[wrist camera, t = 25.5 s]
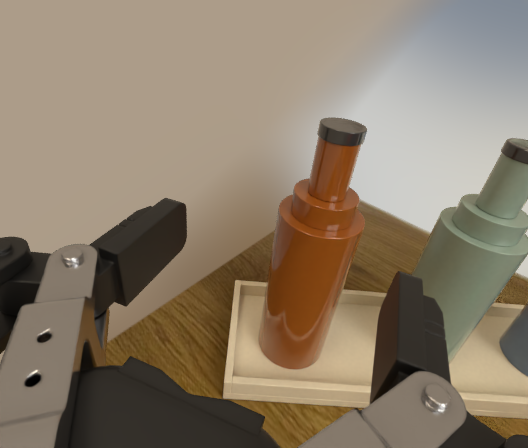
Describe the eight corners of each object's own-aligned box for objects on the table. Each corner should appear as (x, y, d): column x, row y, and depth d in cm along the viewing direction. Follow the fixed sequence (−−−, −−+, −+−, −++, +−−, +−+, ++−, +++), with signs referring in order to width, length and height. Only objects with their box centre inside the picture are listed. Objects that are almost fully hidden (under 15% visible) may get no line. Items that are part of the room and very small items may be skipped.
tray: (222, 398, 27) (223, 382, 25) (233, 295, 36) (235, 279, 35) (633, 426, 29) (653, 412, 27) (543, 321, 38) (555, 307, 37)
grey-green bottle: (369, 335, 32) (460, 132, 21) (409, 315, 35) (508, 127, 24) (419, 389, 28) (565, 172, 17) (460, 361, 31) (609, 160, 20)
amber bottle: (246, 326, 32) (274, 111, 20) (298, 307, 34) (348, 108, 23) (279, 381, 27) (336, 147, 16) (335, 354, 30) (417, 138, 19)
